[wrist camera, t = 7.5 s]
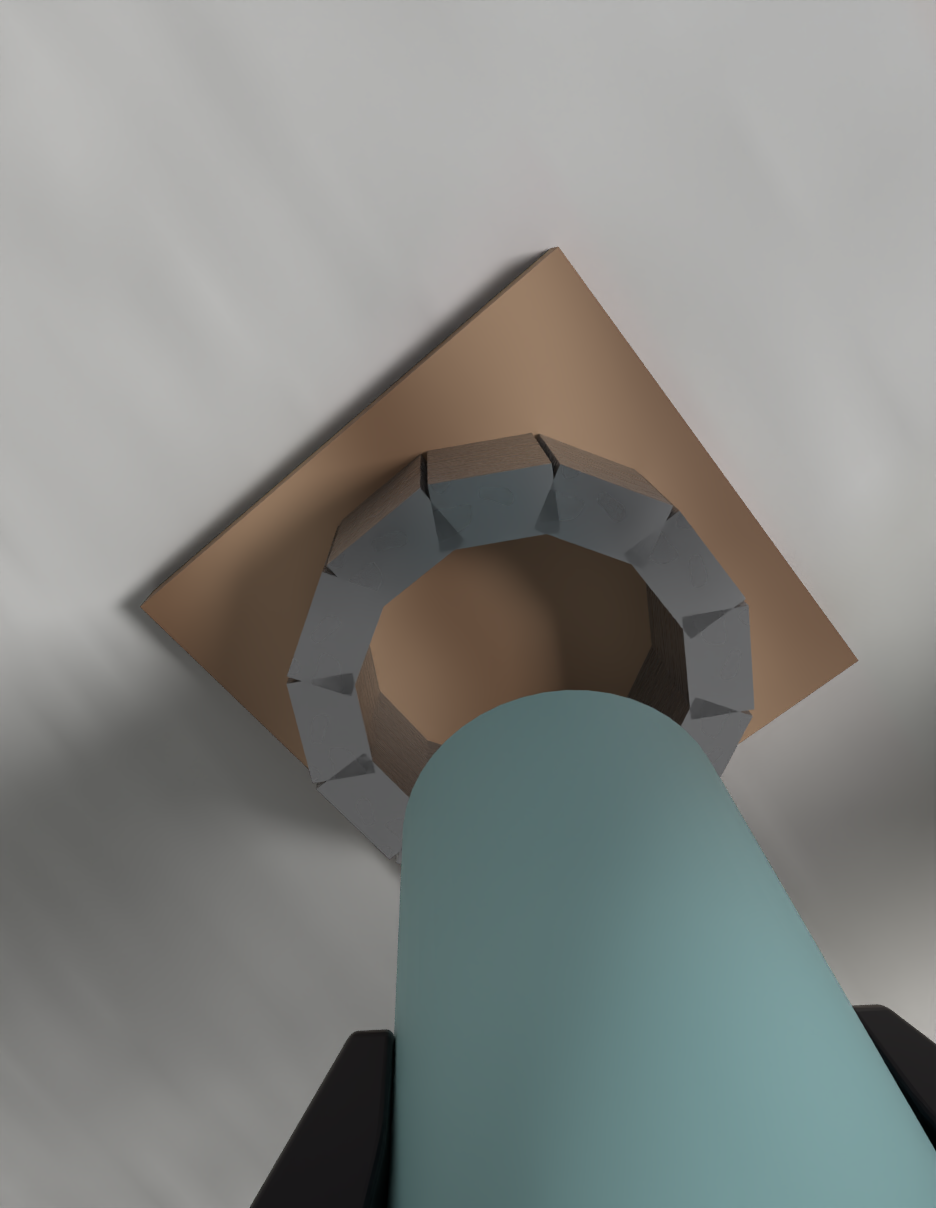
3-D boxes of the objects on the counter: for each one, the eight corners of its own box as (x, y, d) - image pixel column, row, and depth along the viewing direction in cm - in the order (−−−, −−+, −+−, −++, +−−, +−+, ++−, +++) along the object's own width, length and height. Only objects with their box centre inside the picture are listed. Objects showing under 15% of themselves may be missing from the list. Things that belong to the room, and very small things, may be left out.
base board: (551, 247, 18) (558, 246, 17) (839, 642, 21) (858, 660, 20) (153, 590, 20) (139, 606, 19) (471, 900, 23) (473, 927, 22)
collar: (545, 348, 17) (569, 364, 14) (777, 654, 20) (836, 718, 17) (230, 613, 19) (195, 673, 16) (481, 865, 21) (490, 955, 19)
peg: (599, 624, 11) (1518, 2496, 2) (786, 849, 12) (1878, 2609, 3) (334, 822, 12) (1, 2810, 3) (535, 1014, 13) (796, 2797, 4)
